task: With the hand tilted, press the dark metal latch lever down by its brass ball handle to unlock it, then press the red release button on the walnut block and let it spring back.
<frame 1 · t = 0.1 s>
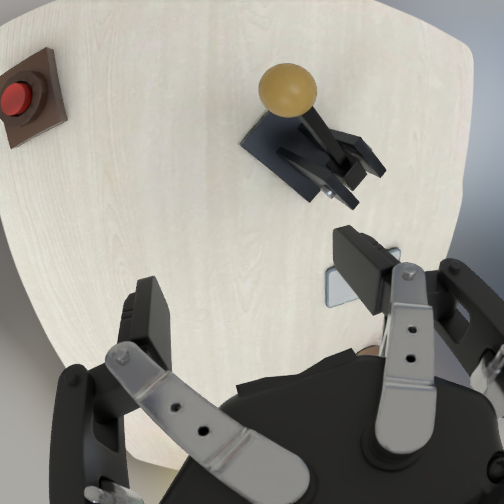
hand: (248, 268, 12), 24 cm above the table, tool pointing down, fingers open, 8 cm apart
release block: (33, 97, 23), on the table
latch bracket: (297, 147, 34), on the table
latch lever: (322, 134, 20), point 14 cm above the table, hinge at 25.0°
smartphone: (362, 275, 48), on the table
release button: (16, 99, 19), point 4 cm above the table, slide at 0.1 cm
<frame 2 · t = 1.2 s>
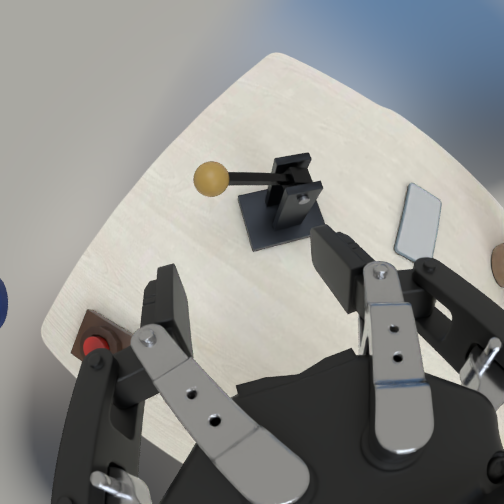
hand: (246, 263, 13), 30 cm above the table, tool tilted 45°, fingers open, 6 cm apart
vase: (501, 266, 46), on the table
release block: (108, 347, 39), on the table
latch bracket: (281, 215, 45), on the table
latch lever: (256, 178, 31), point 14 cm above the table, hinge at 25.0°
smartphone: (418, 225, 47), on the table
release button: (96, 348, 35), point 4 cm above the table, slide at 0.1 cm
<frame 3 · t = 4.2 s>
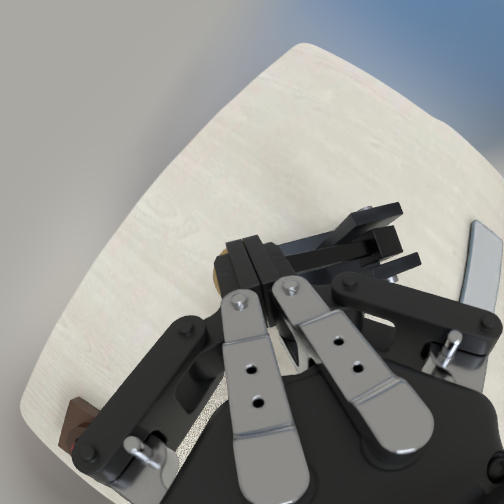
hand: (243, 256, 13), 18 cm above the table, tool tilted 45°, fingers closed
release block: (103, 441, 25), on the table
latch bracket: (330, 273, 32), on the table
latch lever: (322, 258, 18), point 14 cm above the table, hinge at 20.1°, touching gripper
smartphone: (481, 273, 33), on the table
release button: (88, 454, 21), point 4 cm above the table, slide at 0.1 cm
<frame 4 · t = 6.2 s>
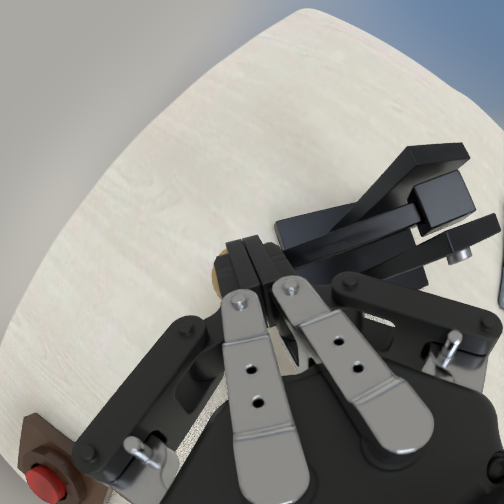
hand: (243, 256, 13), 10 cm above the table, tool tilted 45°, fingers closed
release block: (67, 468, 17), on the table
latch bracket: (355, 258, 24), on the table
latch lever: (340, 242, 14), point 10 cm above the table, hinge at -25.7°, touching gripper
release button: (45, 484, 13), point 4 cm above the table, slide at 0.1 cm
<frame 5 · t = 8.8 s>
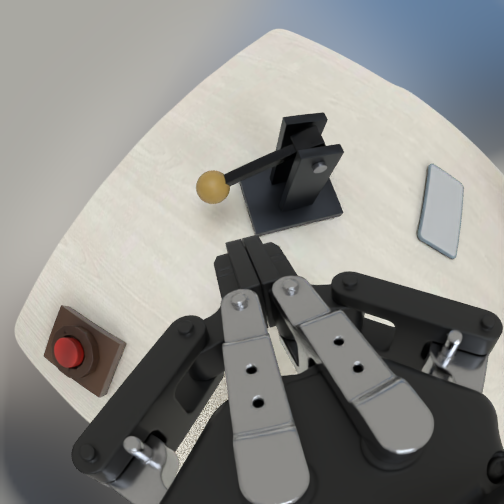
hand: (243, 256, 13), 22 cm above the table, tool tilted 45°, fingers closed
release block: (85, 350, 32), on the table
latch bracket: (289, 195, 38), on the table
latch lever: (257, 166, 28), point 10 cm above the table, hinge at -25.8°
smartphone: (441, 210, 39), on the table
release button: (68, 352, 27), point 4 cm above the table, slide at 0.1 cm
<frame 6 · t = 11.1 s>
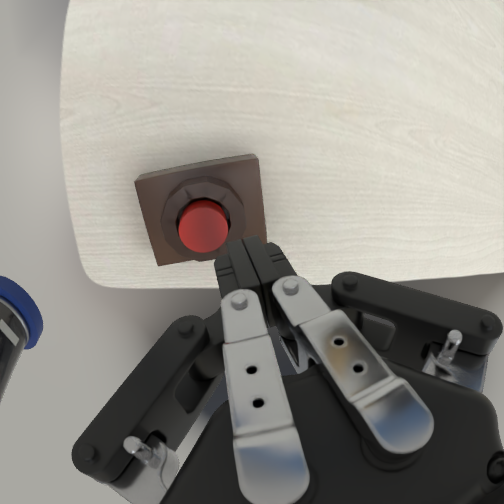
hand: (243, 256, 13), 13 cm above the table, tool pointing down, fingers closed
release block: (203, 206, 25), on the table
release button: (203, 226, 21), point 4 cm above the table, slide at 0.1 cm
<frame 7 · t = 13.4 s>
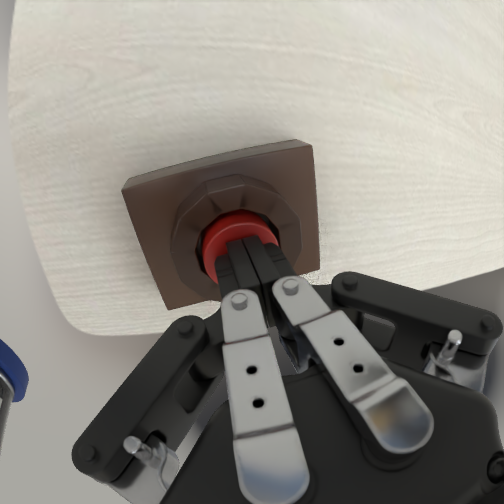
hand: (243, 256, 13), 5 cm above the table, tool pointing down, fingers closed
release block: (226, 218, 17), on the table
release button: (239, 249, 14), point 4 cm above the table, slide at -0.5 cm, touching gripper
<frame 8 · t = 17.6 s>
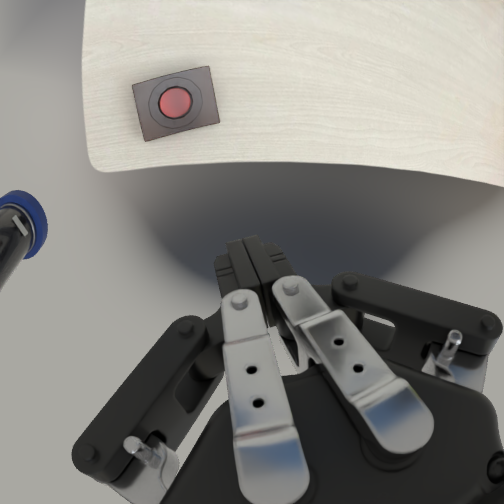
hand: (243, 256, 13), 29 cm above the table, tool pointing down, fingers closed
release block: (176, 102, 34), on the table
release button: (175, 102, 30), point 4 cm above the table, slide at 0.1 cm
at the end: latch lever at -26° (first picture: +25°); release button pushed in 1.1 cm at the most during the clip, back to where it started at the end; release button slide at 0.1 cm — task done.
